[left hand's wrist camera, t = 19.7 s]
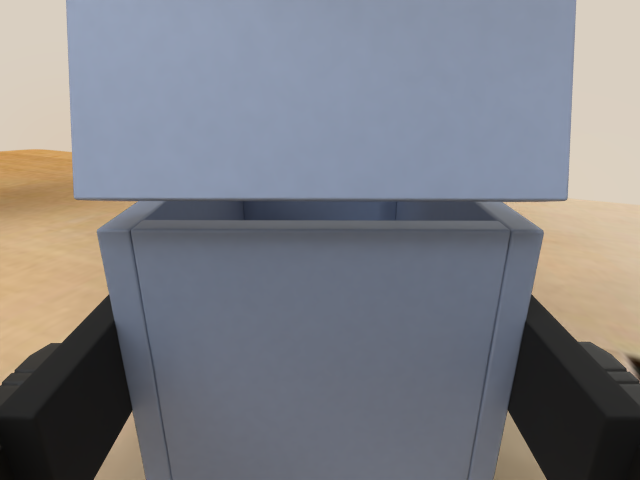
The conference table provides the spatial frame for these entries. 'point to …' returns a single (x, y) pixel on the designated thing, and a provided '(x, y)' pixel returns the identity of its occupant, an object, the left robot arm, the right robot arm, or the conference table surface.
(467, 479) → the chest
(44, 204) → the conference table surface
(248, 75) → the lid
